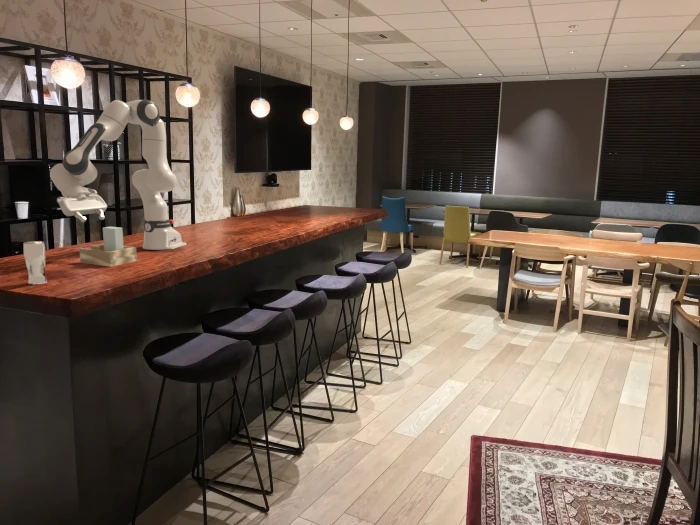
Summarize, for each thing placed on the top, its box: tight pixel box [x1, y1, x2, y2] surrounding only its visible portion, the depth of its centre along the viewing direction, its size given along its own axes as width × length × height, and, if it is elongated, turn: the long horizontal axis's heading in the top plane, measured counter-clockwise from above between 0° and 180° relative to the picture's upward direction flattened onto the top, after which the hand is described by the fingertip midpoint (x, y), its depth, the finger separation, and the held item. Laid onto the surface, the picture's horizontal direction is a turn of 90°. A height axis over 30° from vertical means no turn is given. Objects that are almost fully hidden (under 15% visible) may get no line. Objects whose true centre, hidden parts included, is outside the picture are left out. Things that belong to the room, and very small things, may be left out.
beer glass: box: [23, 240, 48, 286], centre depth 205 cm, size 7×7×15 cm
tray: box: [79, 245, 138, 268], centre depth 240 cm, size 14×18×7 cm
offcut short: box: [89, 242, 104, 251], centre depth 242 cm, size 7×4×3 cm, turn 155°
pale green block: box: [102, 226, 125, 252], centre depth 238 cm, size 4×7×15 cm, turn 65°
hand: (93, 219), depth 240 cm, fingers open, 8 cm apart
